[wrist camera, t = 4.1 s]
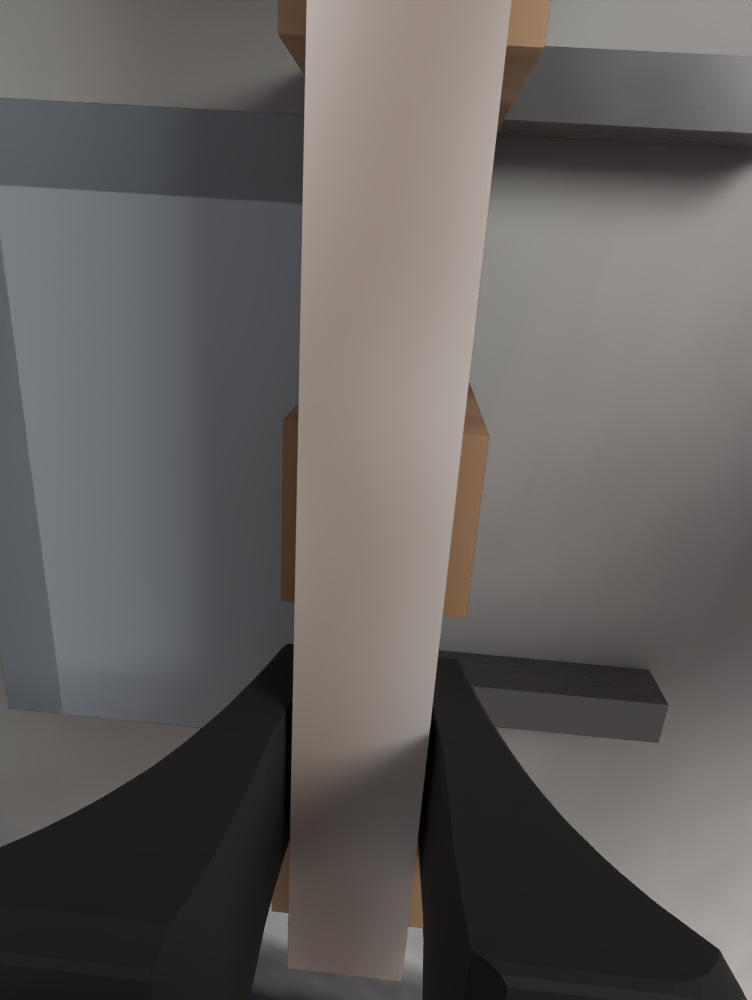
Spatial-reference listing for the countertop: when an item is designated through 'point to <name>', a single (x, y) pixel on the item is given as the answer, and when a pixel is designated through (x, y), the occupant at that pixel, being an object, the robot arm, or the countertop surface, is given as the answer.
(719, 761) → the countertop surface
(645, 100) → the rail frame
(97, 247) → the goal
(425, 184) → the tan piece
